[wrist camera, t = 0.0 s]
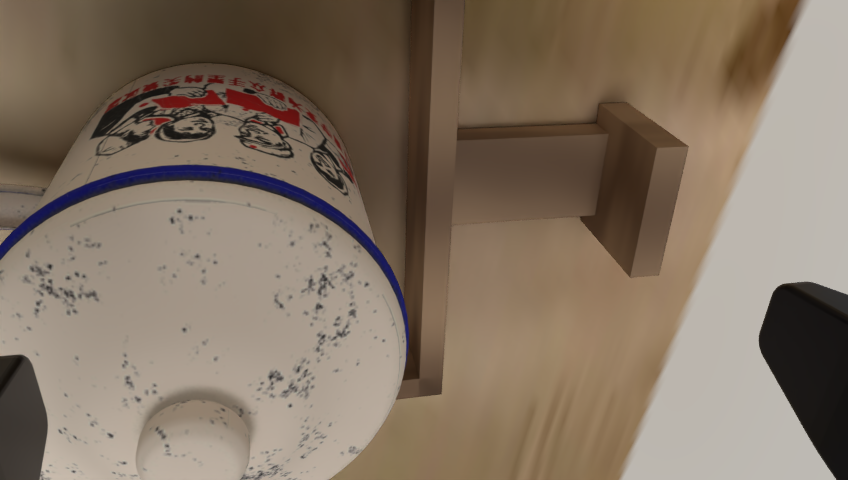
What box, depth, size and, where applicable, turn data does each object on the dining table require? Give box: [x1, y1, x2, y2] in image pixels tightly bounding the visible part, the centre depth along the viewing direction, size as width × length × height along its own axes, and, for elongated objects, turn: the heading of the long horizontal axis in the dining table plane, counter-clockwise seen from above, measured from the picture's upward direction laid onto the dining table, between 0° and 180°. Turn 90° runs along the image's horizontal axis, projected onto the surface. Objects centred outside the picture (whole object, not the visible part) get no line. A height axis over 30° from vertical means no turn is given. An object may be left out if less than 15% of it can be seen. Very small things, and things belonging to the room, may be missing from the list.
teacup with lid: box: [0, 63, 409, 480], centre depth 17 cm, size 12×9×12 cm
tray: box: [396, 0, 689, 399], centre depth 21 cm, size 14×23×4 cm, turn 88°
